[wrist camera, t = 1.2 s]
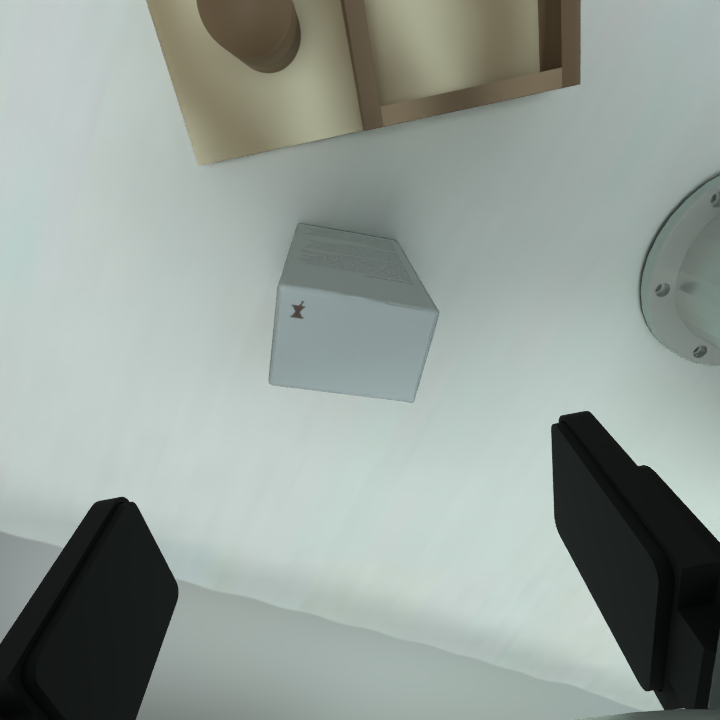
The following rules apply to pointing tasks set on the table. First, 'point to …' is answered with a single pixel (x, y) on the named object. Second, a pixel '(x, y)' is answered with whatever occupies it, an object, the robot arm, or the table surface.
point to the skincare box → (350, 317)
